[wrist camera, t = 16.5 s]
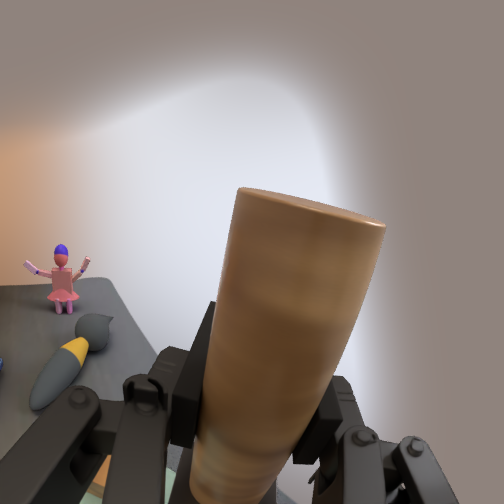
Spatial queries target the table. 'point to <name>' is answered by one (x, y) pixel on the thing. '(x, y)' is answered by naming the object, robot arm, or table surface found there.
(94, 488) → the wooden cube
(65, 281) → the figurine
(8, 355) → the table surface
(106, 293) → the table surface
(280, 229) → the brush
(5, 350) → the table surface
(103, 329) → the paintbrush
